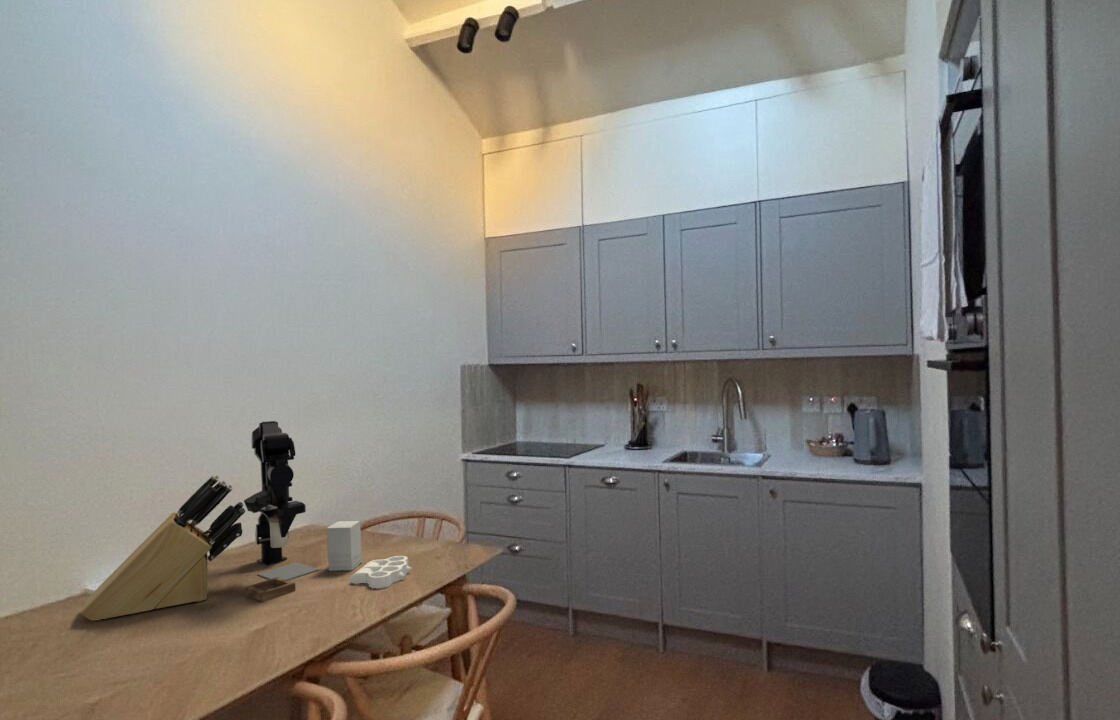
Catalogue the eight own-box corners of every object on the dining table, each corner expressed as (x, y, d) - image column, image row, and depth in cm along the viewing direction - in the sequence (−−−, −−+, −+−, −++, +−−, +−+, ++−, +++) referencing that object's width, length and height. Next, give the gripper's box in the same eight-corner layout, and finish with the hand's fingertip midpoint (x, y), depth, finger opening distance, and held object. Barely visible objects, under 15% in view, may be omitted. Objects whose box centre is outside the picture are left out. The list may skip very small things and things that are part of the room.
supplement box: (362, 562, 183) (361, 520, 183) (351, 571, 176) (350, 527, 176) (339, 562, 184) (337, 520, 184) (327, 571, 176) (325, 527, 176)
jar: (267, 545, 169) (266, 517, 169) (283, 541, 173) (282, 513, 173) (275, 548, 166) (274, 519, 166) (291, 544, 170) (290, 515, 170)
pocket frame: (245, 594, 160) (245, 587, 160) (278, 584, 167) (277, 576, 167) (262, 601, 155) (262, 593, 155) (295, 590, 162) (295, 583, 162)
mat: (257, 575, 175) (257, 574, 175) (296, 563, 185) (296, 562, 185) (279, 583, 168) (279, 581, 168) (319, 570, 177) (319, 569, 177)
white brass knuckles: (371, 567, 180) (420, 567, 178) (344, 590, 162) (397, 590, 161) (371, 555, 180) (419, 555, 178) (343, 577, 162) (397, 577, 161)
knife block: (248, 593, 161) (244, 476, 161) (80, 626, 143) (76, 494, 143) (246, 580, 171) (242, 470, 171) (89, 610, 153) (84, 486, 153)
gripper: (231, 481, 169) (233, 537, 169) (265, 489, 157) (267, 549, 158) (271, 474, 178) (273, 527, 178) (305, 481, 166) (307, 538, 166)
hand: (279, 535), depth 170 cm, fingers closed on jar, 4 cm apart
